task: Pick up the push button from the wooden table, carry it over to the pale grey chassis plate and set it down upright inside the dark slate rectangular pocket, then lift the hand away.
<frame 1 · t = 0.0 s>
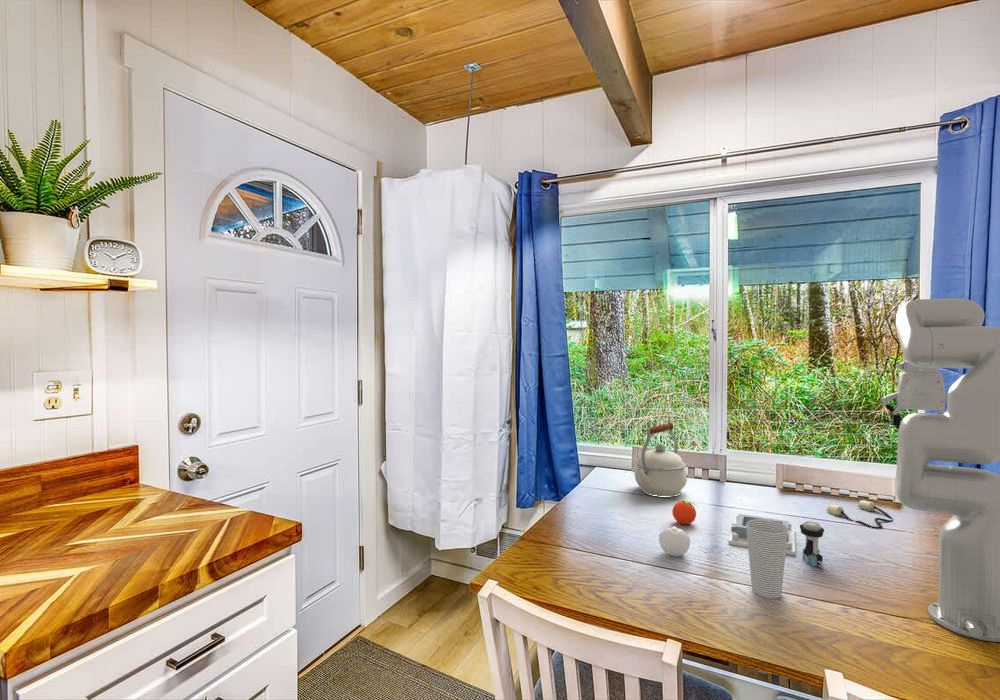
hand: (919, 429, 139), 31 cm above the table, tool pointing down, fingers open, 9 cm apart
cup: (766, 593, 115), on the table
cable: (866, 518, 159), on the table
white rounded piece: (674, 556, 134), on the table
push button: (813, 564, 128), on the table
chassis: (762, 537, 145), on the table
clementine: (686, 524, 156), on the table
kettle: (658, 493, 185), on the table
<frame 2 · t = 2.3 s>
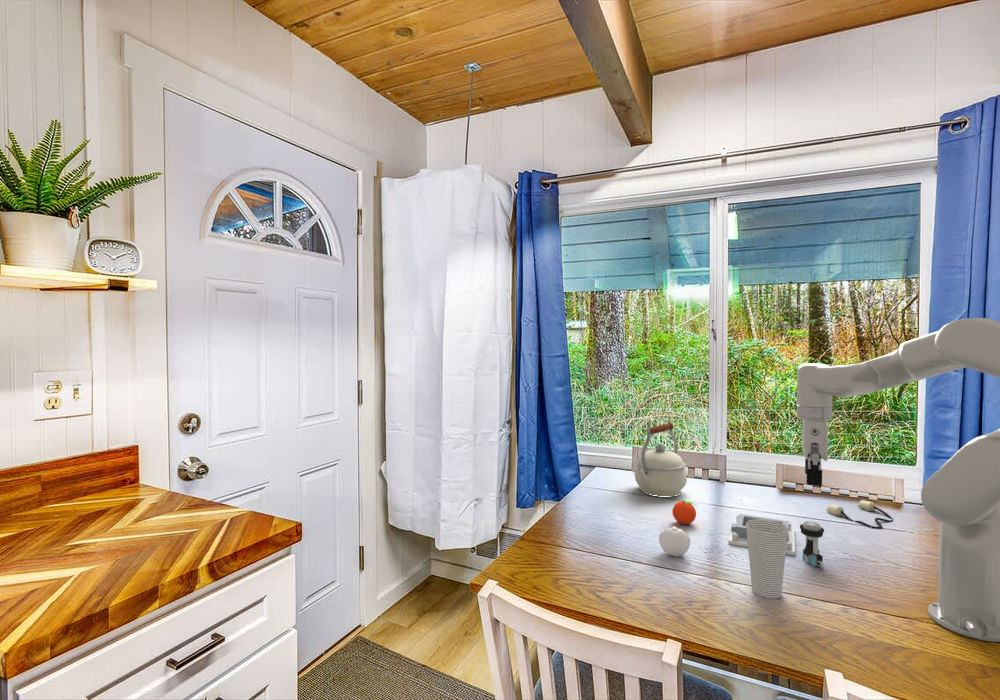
hand: (813, 479, 128), 22 cm above the table, tool pointing down, fingers open, 9 cm apart
nothing on the table moved.
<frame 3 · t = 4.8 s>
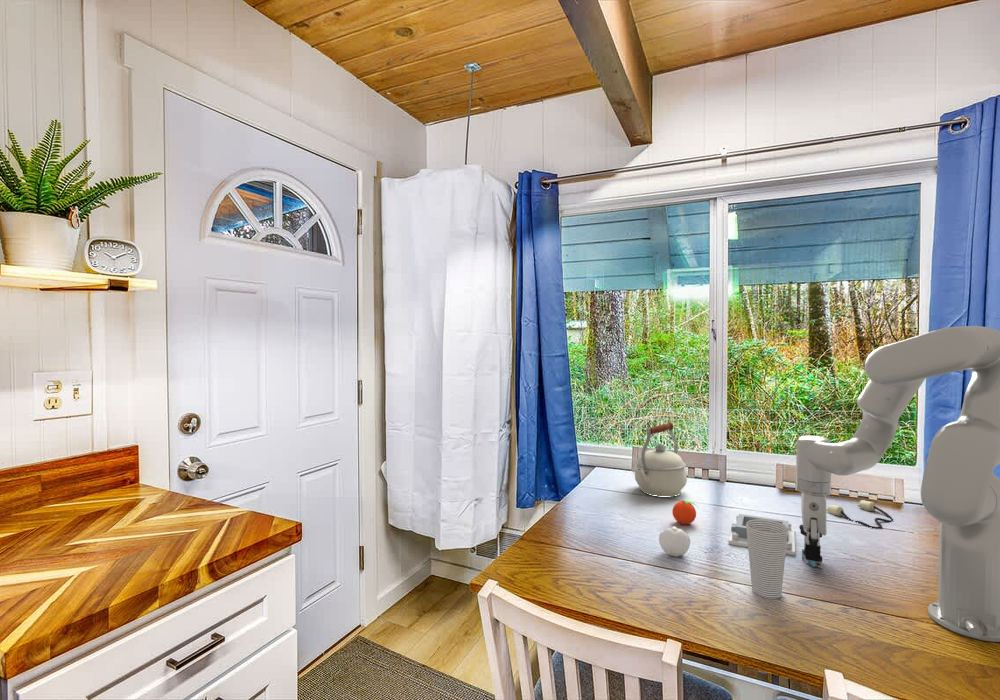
hand: (812, 554, 128), 2 cm above the table, tool pointing down, fingers closed on push button, 5 cm apart
push button: (813, 564, 128), on the table, touching gripper
everything else where it was.
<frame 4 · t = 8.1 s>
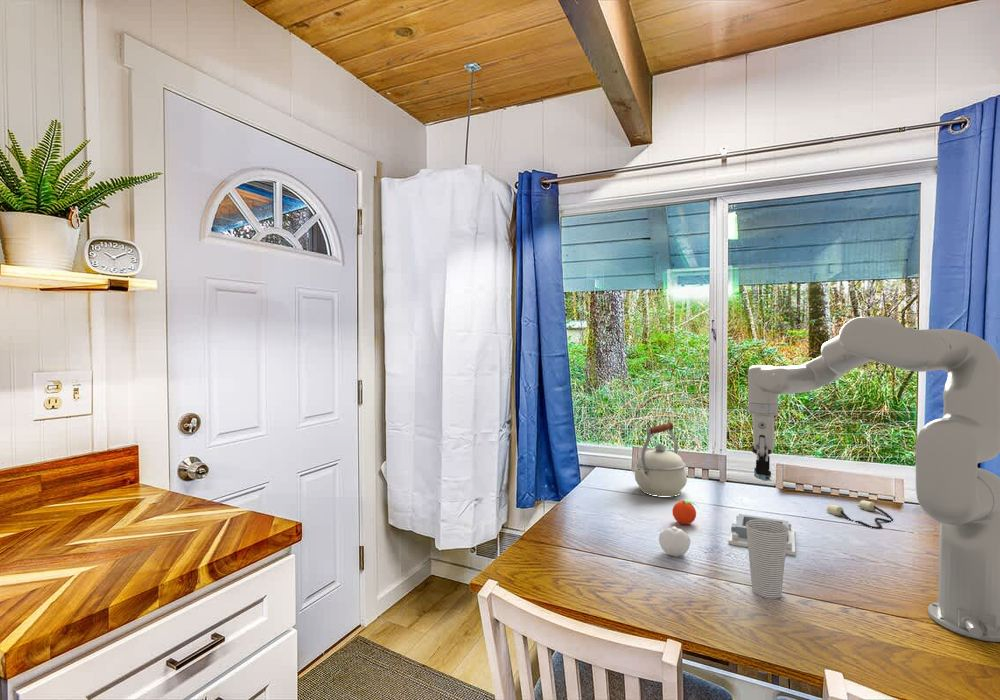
hand: (762, 471, 144), 19 cm above the table, tool pointing down, fingers closed on push button, 5 cm apart
push button: (763, 479, 143), point 17 cm above the table, touching gripper
everything else where it was.
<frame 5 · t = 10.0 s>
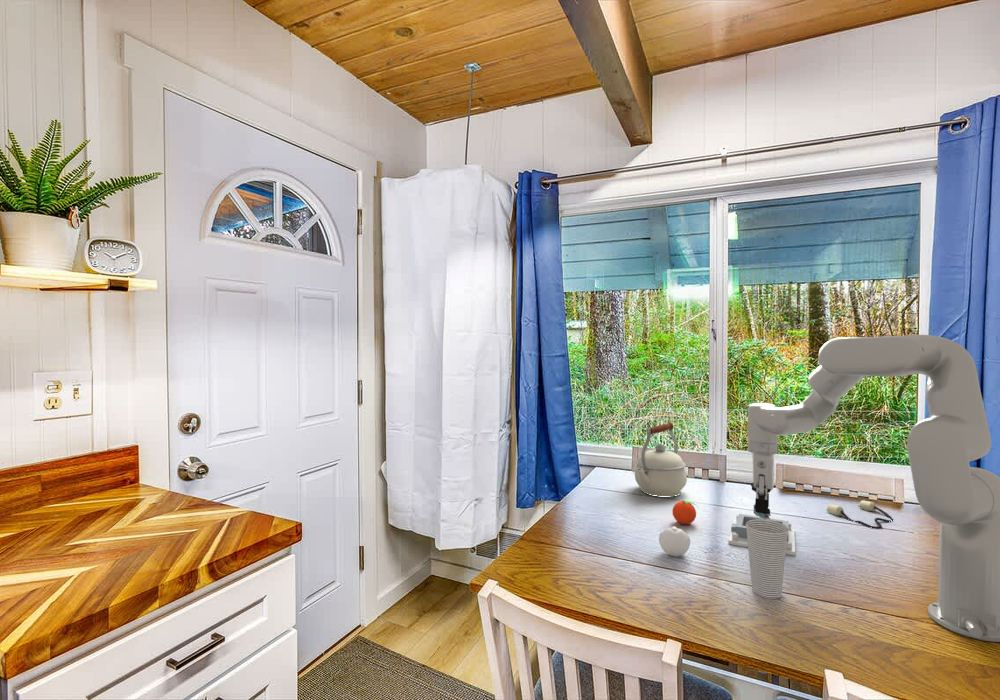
hand: (762, 508, 144), 8 cm above the table, tool pointing down, fingers closed on push button, 5 cm apart
push button: (762, 517, 144), point 6 cm above the table, touching gripper
everything else where it was.
when the fingers open (5 cm above the table, at t = 11.6 s): push button drops 2 cm, resting on chassis.
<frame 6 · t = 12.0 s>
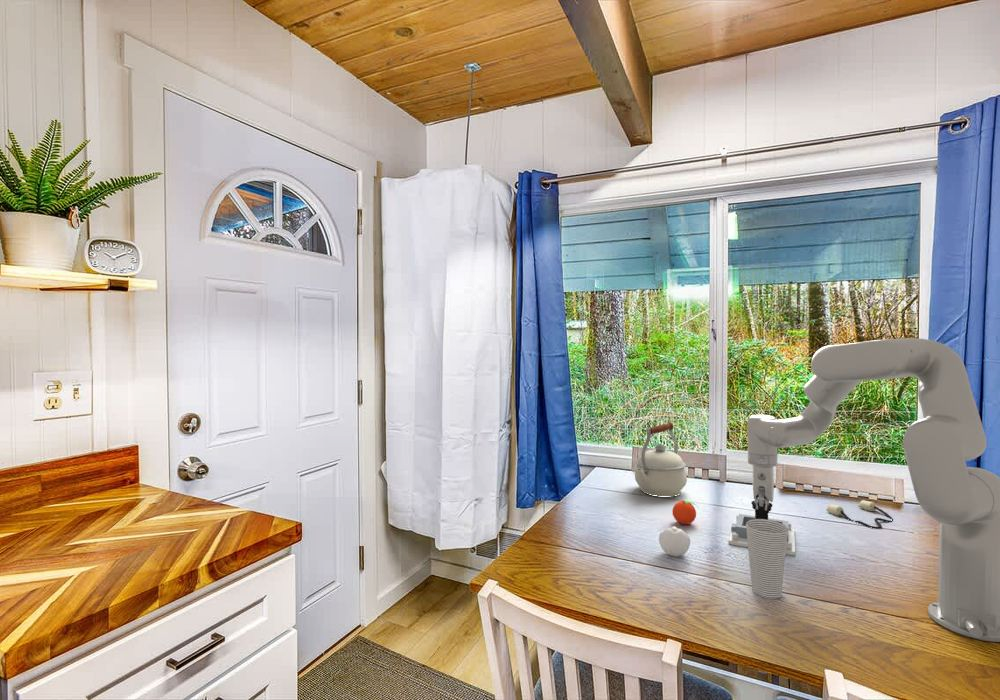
hand: (762, 517, 144), 6 cm above the table, tool pointing down, fingers open, 9 cm apart
push button: (763, 536, 144), point 1 cm above the table, touching chassis
everything else where it was.
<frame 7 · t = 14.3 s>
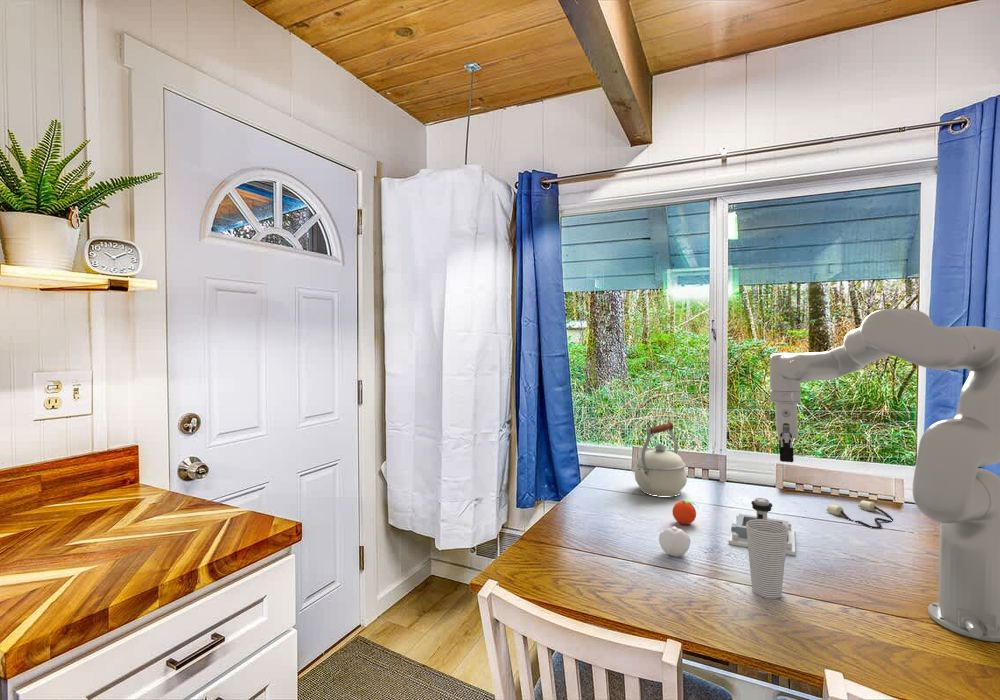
hand: (786, 457, 141), 24 cm above the table, tool pointing down, fingers open, 9 cm apart
nothing on the table moved.
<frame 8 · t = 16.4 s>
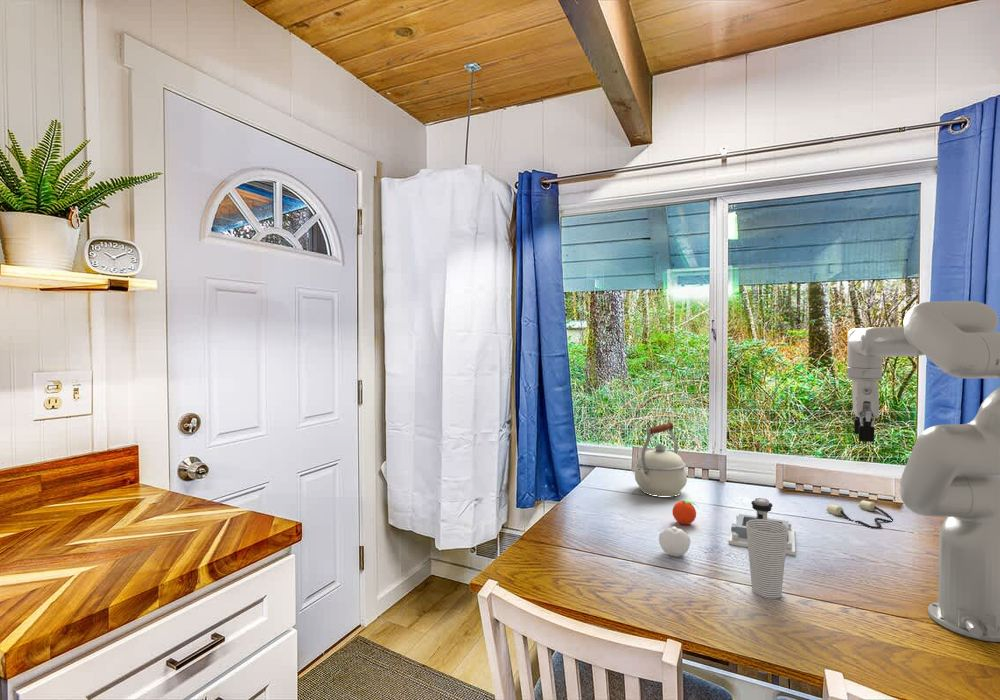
hand: (863, 437, 135), 30 cm above the table, tool pointing down, fingers open, 9 cm apart
nothing on the table moved.
at the end: push button 1.0 cm off-centre on the chassis, point 0.8 cm above the chassis's base; push button tilted 0°; the gripper is holding nothing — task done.
